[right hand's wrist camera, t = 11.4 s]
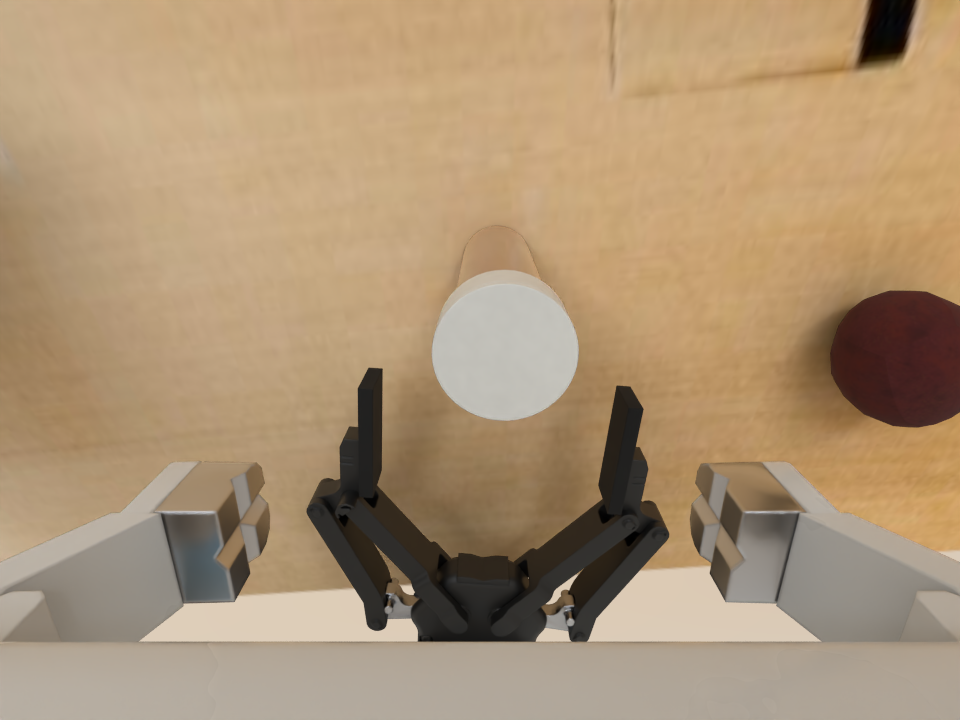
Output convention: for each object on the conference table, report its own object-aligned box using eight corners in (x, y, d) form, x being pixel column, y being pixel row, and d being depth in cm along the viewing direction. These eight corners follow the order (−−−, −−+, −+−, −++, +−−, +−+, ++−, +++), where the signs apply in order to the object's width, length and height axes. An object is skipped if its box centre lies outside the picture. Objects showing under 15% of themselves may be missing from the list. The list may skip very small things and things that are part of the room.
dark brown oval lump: (830, 411, 36) (906, 471, 29) (785, 317, 34) (858, 359, 27) (943, 354, 34) (1050, 404, 28) (905, 251, 32) (1013, 279, 26)
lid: (524, 415, 21) (528, 443, 19) (413, 357, 20) (406, 380, 18) (596, 311, 20) (608, 330, 18) (478, 243, 19) (477, 255, 17)
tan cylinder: (508, 304, 34) (524, 423, 19) (451, 272, 33) (424, 371, 19) (543, 247, 32) (587, 330, 18) (484, 212, 32) (482, 270, 17)
